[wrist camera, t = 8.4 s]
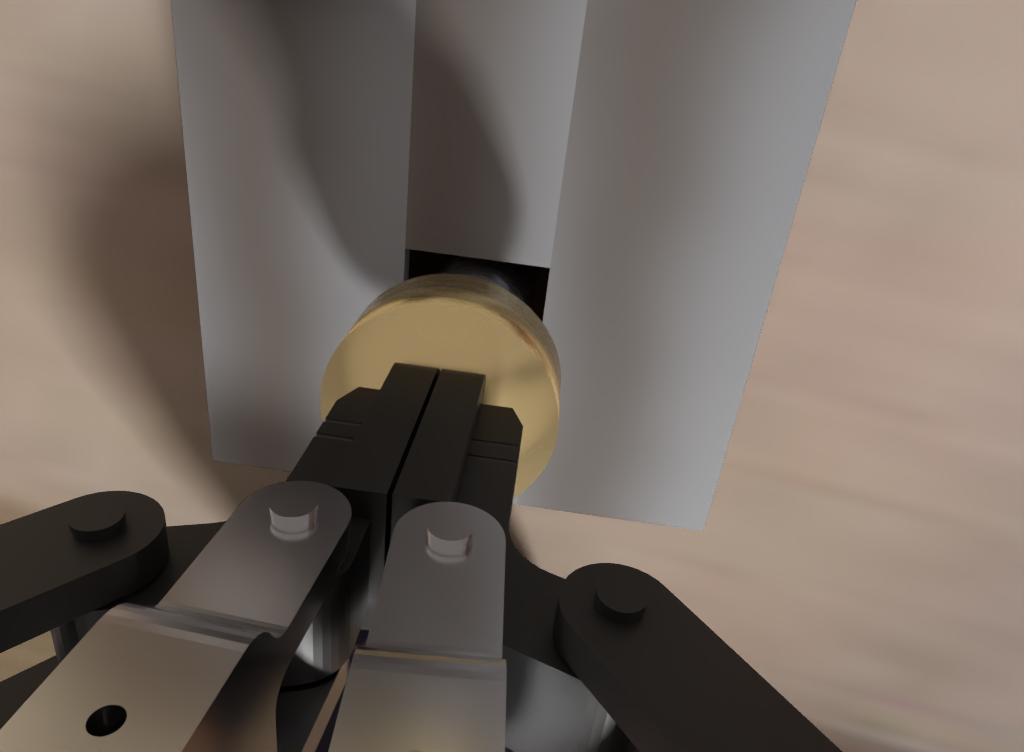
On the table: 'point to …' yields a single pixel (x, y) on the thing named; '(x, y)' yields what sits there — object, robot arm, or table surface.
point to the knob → (462, 345)
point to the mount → (505, 205)
